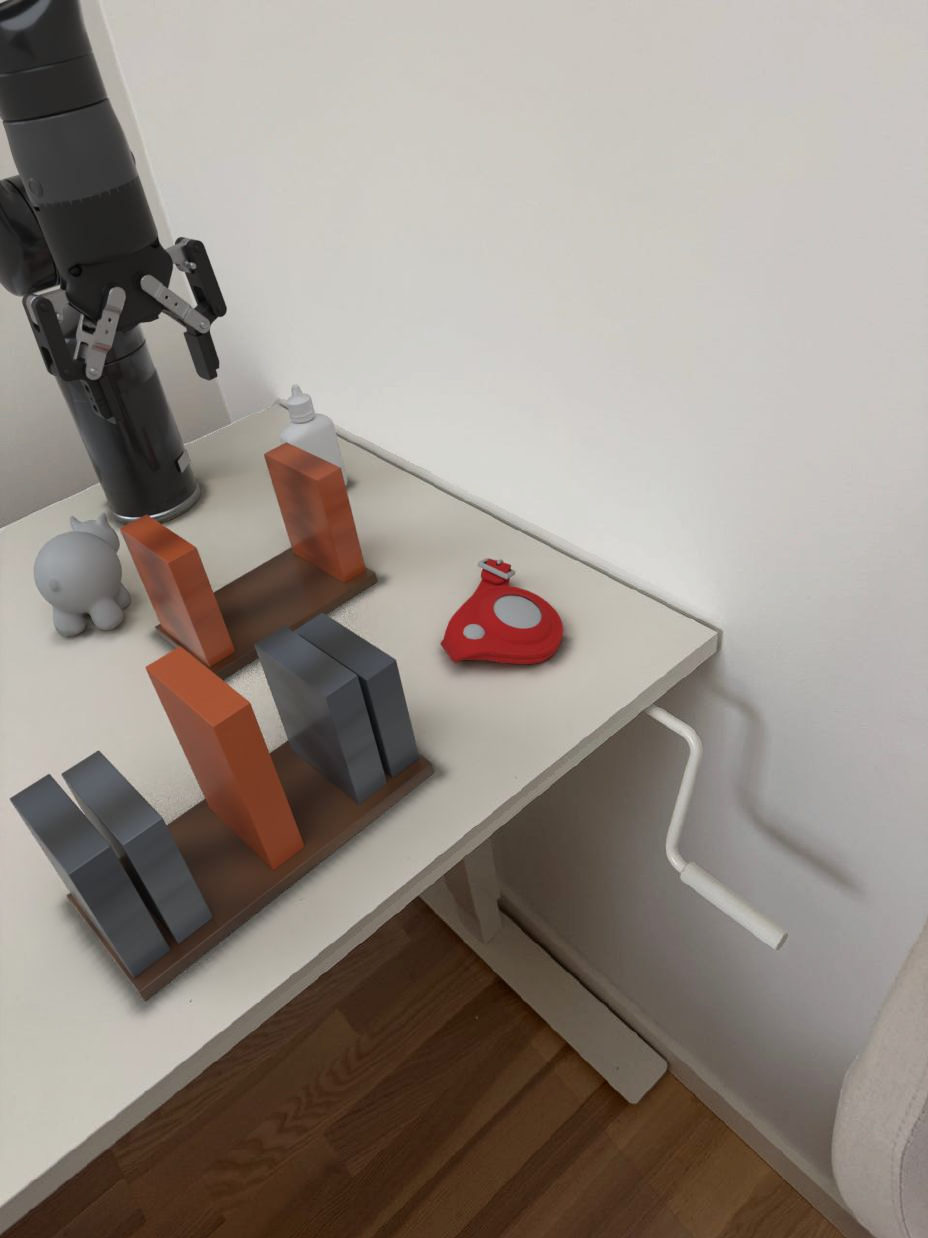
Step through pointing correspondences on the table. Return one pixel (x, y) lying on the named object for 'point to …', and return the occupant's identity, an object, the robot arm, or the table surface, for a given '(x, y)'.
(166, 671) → the orange book
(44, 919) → the table surface
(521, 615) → the tracker holder
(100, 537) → the toy rhinoceros
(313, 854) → the grey rack
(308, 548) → the orange rack
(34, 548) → the table surface
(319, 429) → the eye dropper bottle
